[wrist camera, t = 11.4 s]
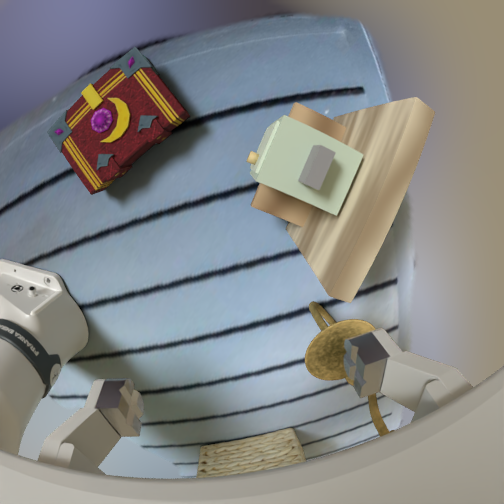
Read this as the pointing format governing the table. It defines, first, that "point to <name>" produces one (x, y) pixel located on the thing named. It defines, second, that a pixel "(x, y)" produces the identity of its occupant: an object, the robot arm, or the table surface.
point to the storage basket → (251, 454)
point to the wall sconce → (337, 354)
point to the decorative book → (117, 121)
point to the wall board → (355, 191)
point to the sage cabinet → (305, 164)
